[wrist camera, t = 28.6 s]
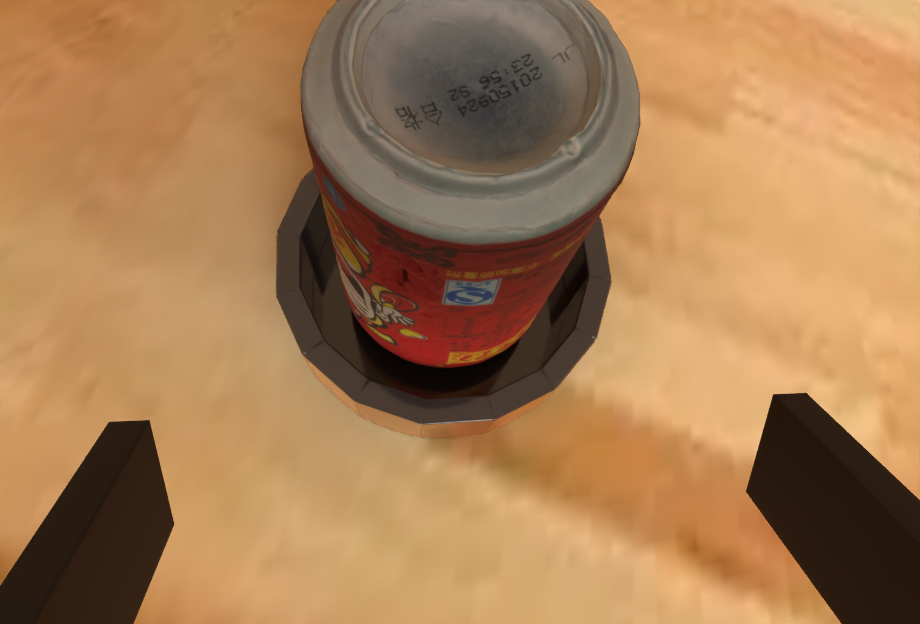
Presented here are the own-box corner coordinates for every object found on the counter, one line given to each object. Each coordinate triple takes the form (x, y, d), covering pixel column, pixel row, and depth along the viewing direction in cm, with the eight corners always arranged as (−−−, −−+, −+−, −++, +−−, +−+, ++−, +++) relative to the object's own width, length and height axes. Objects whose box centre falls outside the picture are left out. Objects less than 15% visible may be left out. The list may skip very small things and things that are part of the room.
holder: (368, 494, 22) (361, 487, 18) (249, 229, 24) (225, 182, 21) (634, 358, 24) (671, 330, 21) (498, 131, 27) (511, 75, 24)
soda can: (309, 262, 24) (221, 5, 12) (464, 174, 25) (518, -123, 14) (415, 420, 22) (432, 300, 10) (572, 314, 24) (734, 112, 12)
